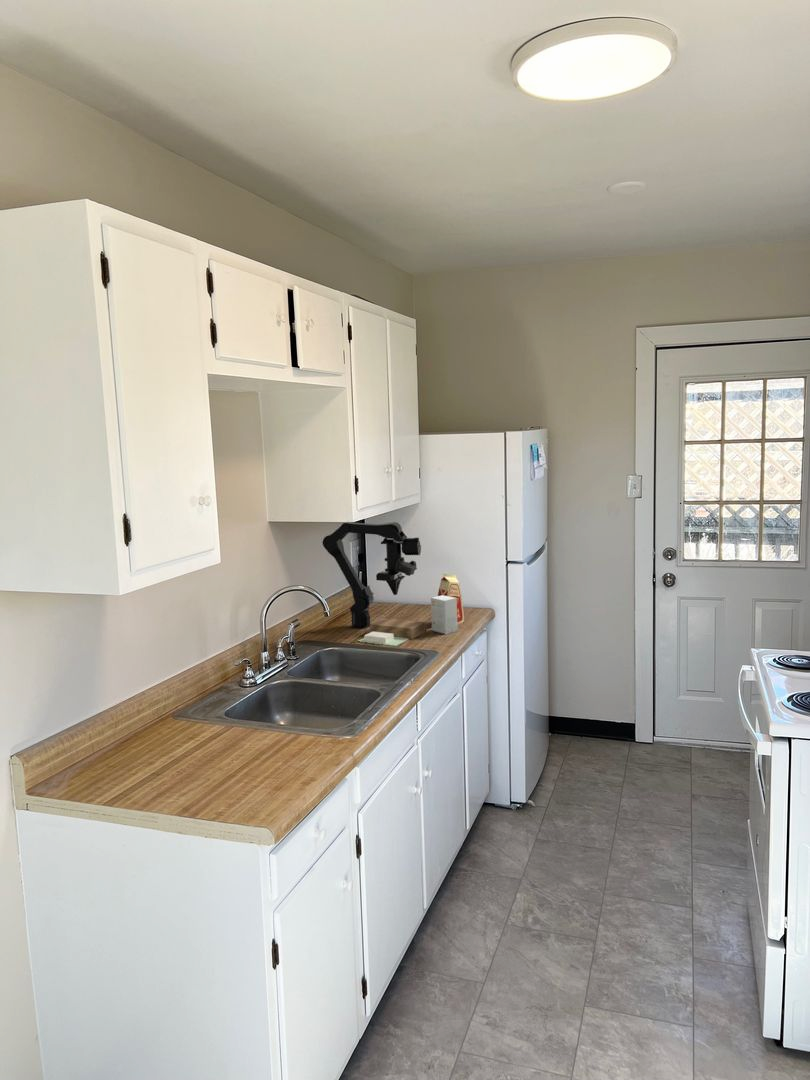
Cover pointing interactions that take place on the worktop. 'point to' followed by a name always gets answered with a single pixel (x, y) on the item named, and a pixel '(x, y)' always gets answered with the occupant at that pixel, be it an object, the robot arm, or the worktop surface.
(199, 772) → the worktop surface
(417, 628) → the brown wooden block
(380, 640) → the cream white eraser block
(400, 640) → the mat
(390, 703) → the worktop surface
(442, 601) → the small box
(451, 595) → the milk carton
